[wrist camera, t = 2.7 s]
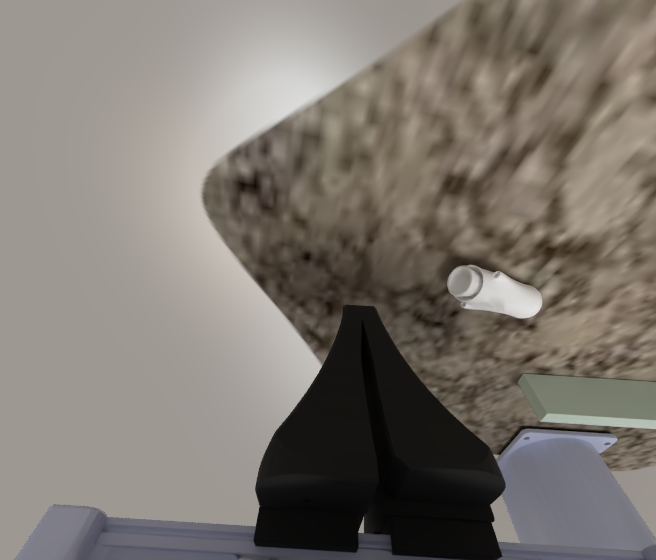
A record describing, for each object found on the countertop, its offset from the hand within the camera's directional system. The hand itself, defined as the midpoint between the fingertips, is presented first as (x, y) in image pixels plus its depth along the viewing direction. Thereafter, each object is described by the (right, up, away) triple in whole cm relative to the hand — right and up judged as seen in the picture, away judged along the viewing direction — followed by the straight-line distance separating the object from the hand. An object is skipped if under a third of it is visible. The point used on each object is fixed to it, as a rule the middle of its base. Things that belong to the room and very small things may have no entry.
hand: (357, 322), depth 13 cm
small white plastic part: (+8, +2, +4) cm, 9 cm away
